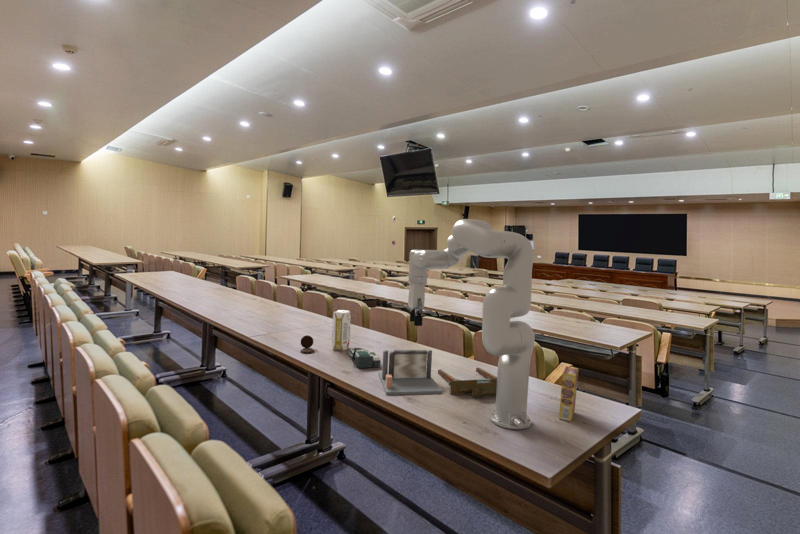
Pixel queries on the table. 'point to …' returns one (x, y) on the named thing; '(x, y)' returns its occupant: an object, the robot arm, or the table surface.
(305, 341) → the compass
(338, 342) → the juice carton
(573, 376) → the candy box
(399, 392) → the gray panel stand
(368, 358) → the communication device
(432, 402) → the table surface
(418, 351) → the gate
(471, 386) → the miniature gate
